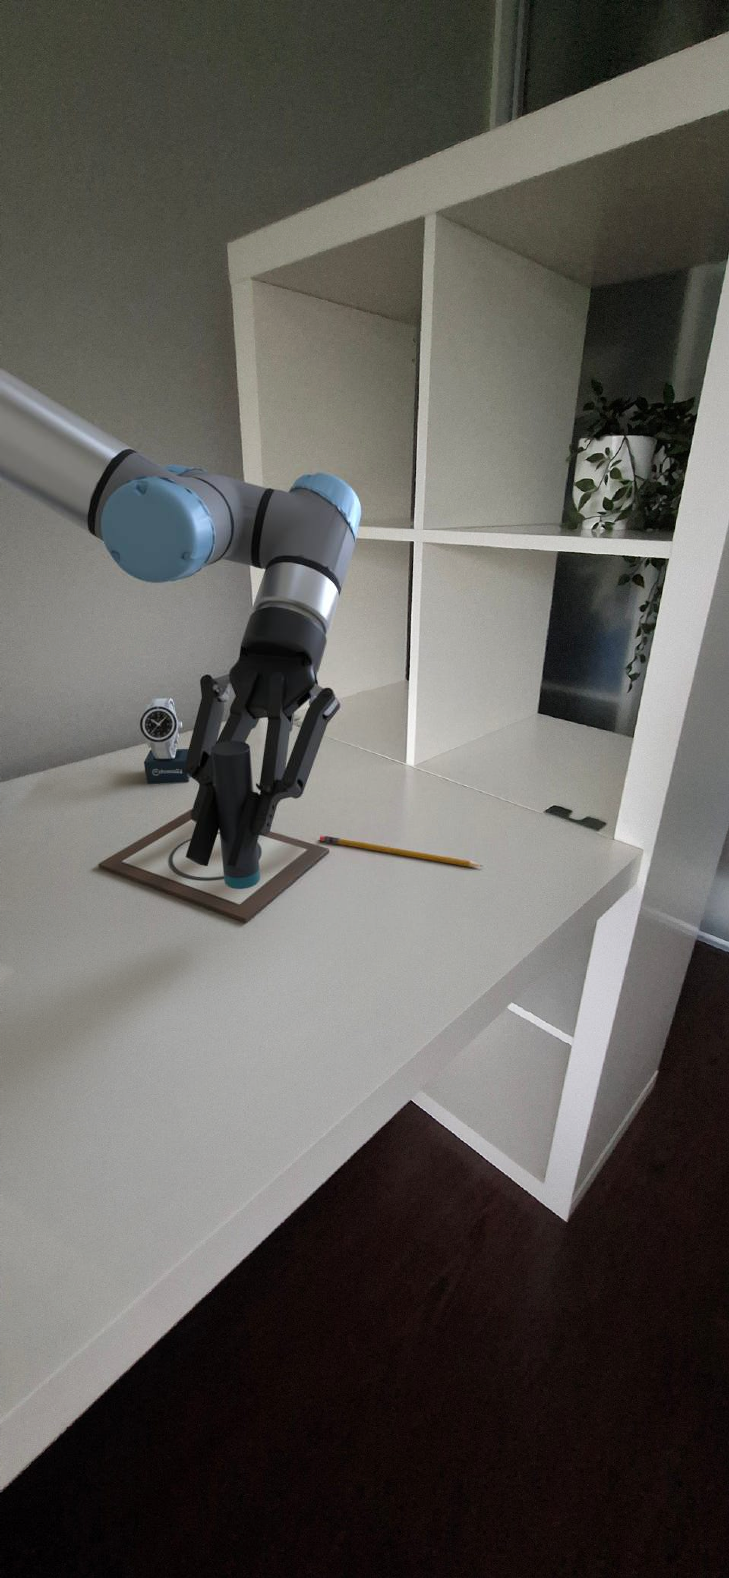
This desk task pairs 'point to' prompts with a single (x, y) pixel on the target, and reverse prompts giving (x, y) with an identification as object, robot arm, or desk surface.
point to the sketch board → (212, 868)
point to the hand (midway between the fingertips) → (217, 865)
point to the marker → (233, 805)
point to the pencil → (398, 851)
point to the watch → (163, 743)
